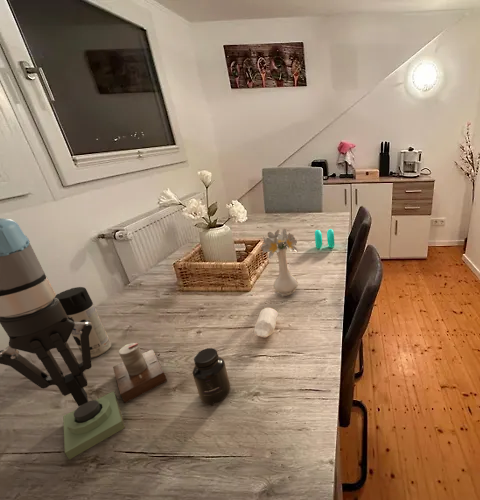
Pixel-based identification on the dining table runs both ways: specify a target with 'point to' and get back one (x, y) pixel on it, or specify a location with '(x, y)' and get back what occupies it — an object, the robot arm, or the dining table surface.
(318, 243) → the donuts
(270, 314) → the roll
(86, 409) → the button
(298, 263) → the dining table surface
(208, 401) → the supplement bottle
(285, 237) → the flower vase
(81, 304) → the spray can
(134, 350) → the dial knob
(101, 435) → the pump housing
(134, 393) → the dial panel
